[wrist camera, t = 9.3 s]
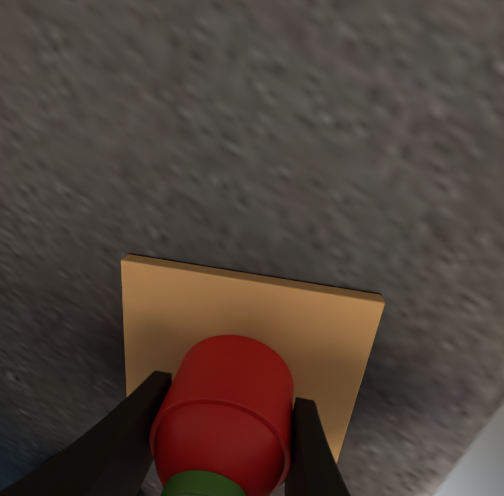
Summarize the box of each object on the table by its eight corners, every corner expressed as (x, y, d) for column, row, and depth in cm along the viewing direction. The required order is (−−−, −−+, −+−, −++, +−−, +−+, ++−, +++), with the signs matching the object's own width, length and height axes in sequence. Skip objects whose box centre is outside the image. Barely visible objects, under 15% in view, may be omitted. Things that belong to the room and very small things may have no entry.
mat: (133, 430, 16) (128, 442, 15) (127, 253, 12) (119, 260, 12) (329, 470, 15) (330, 484, 14) (381, 294, 11) (385, 303, 11)
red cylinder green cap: (178, 412, 14) (120, 555, 10) (182, 324, 12) (113, 446, 8) (284, 433, 14) (275, 592, 9) (302, 345, 12) (303, 486, 7)
